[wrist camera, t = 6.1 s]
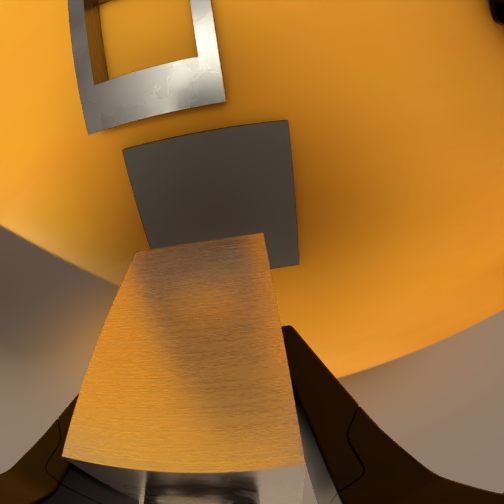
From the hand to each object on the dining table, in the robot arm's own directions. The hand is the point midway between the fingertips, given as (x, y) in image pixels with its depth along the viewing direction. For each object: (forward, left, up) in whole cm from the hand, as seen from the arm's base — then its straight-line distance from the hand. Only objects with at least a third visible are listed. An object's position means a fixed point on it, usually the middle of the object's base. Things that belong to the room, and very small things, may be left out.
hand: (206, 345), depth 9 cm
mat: (0, 0, -10) cm, 10 cm away
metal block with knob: (0, 0, -2) cm, 2 cm away
